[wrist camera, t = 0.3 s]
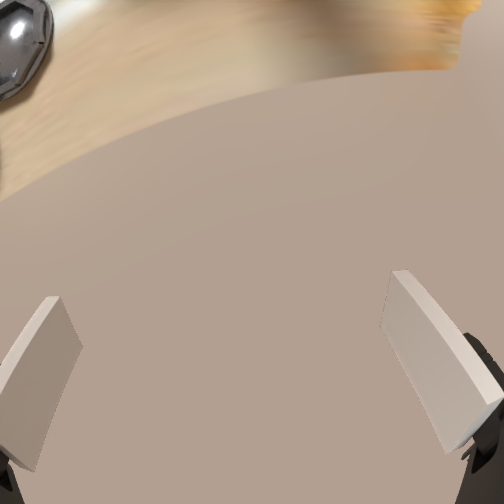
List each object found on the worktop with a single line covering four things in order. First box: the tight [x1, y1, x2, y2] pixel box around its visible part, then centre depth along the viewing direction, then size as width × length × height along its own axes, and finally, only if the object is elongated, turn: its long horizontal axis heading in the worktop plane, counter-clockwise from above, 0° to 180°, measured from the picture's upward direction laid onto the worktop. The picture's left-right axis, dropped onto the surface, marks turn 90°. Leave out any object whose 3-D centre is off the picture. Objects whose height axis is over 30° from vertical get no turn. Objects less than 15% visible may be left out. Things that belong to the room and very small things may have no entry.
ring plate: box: [0, 0, 53, 101], centre depth 23 cm, size 17×17×2 cm
